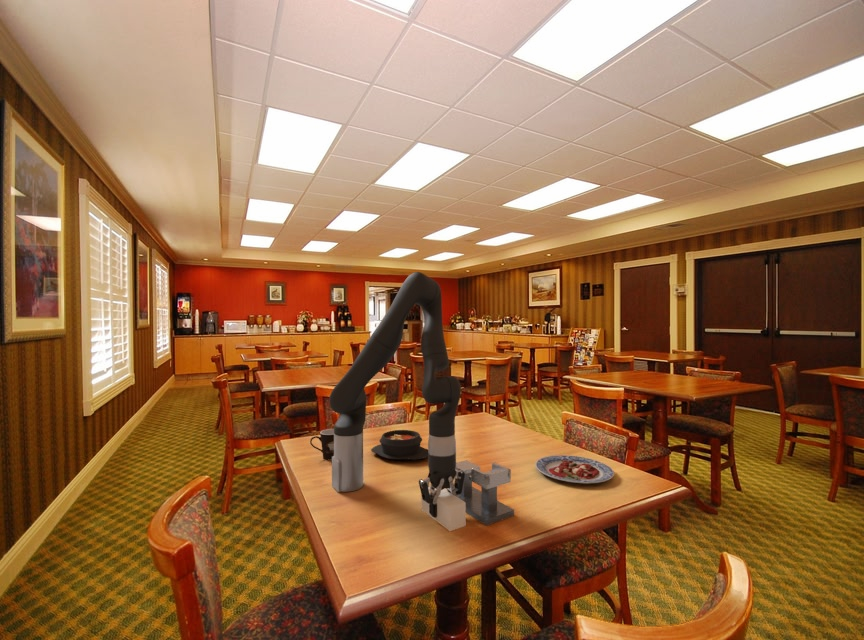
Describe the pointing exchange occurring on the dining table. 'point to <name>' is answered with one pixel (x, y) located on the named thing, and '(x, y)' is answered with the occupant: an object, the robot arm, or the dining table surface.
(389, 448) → the casserole
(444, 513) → the white rectangular block
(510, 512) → the stand
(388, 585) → the dining table surface
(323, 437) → the coffee mug
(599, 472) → the ceramic plate
